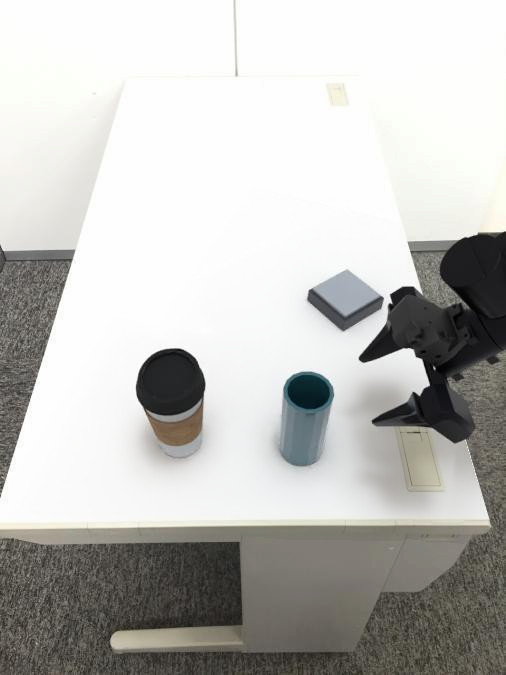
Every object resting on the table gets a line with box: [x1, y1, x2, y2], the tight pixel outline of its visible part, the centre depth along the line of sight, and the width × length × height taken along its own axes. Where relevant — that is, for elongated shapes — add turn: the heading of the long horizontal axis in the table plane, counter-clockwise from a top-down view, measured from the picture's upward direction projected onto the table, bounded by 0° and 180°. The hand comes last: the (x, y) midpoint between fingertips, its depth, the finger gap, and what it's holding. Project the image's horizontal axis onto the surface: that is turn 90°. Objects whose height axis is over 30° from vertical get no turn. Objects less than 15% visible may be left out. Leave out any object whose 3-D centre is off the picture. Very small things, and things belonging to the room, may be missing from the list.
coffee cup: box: [135, 347, 207, 459], centre depth 68 cm, size 8×8×15 cm
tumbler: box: [278, 370, 335, 467], centre depth 68 cm, size 6×6×13 cm
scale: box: [306, 269, 385, 332], centre depth 90 cm, size 9×9×3 cm
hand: (366, 390), depth 64 cm, fingers open, 9 cm apart
